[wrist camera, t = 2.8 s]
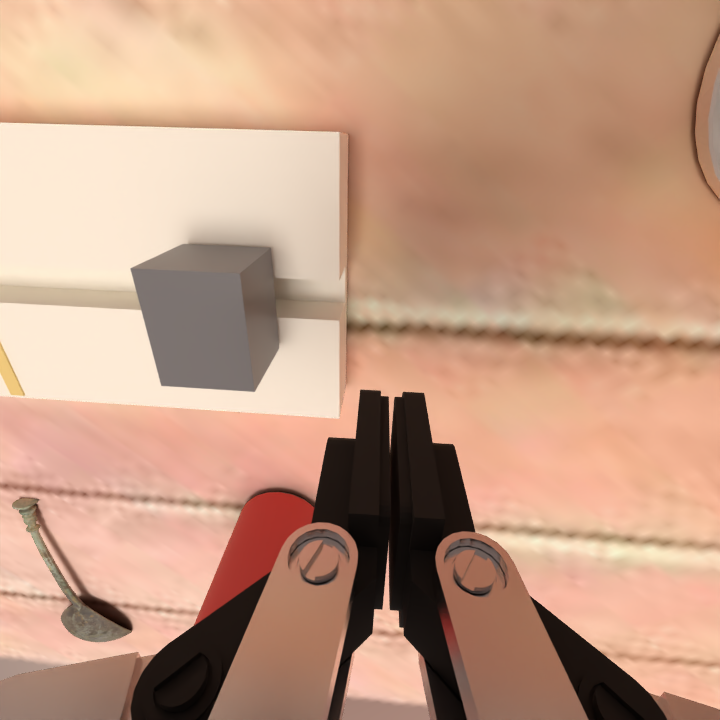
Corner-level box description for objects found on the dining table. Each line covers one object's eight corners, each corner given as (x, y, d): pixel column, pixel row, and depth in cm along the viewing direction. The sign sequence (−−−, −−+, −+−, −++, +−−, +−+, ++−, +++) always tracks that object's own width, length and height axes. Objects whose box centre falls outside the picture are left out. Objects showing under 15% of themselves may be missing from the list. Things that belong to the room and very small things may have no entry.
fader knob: (284, 236, 19) (240, 273, 14) (290, 327, 22) (254, 391, 16) (206, 232, 20) (130, 268, 14) (221, 324, 22) (161, 385, 16)
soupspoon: (90, 622, 45) (146, 623, 44) (70, 656, 42) (130, 658, 42) (-4, 491, 33) (70, 493, 33) (-40, 526, 30) (41, 528, 30)
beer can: (227, 504, 31) (144, 683, 21) (289, 475, 29) (232, 658, 19) (278, 551, 34) (226, 732, 23) (339, 527, 32) (313, 714, 21)
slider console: (348, 134, 18) (339, 131, 15) (345, 385, 25) (339, 419, 22) (-164, 119, 20) (-270, 114, 16) (-35, 361, 26) (-93, 390, 23)
